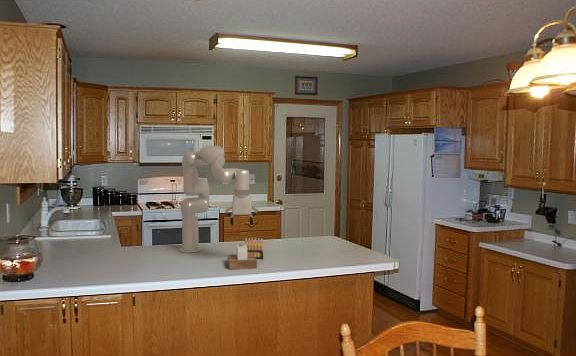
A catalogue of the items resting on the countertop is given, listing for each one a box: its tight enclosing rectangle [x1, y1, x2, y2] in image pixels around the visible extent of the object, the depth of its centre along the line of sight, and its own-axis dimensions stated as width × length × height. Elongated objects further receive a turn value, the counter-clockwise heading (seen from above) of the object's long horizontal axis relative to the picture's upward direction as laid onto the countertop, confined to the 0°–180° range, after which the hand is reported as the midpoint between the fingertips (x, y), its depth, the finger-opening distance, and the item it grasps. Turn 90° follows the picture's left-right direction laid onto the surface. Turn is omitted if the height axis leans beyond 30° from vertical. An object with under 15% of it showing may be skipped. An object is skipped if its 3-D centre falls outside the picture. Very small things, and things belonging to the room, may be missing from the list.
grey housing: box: [235, 243, 248, 260], centre depth 269 cm, size 5×9×7 cm, turn 10°
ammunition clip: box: [244, 237, 264, 260], centre depth 284 cm, size 11×2×12 cm, turn 86°
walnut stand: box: [227, 254, 258, 270], centre depth 269 cm, size 16×14×4 cm
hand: (241, 225), depth 268 cm, fingers open, 9 cm apart
